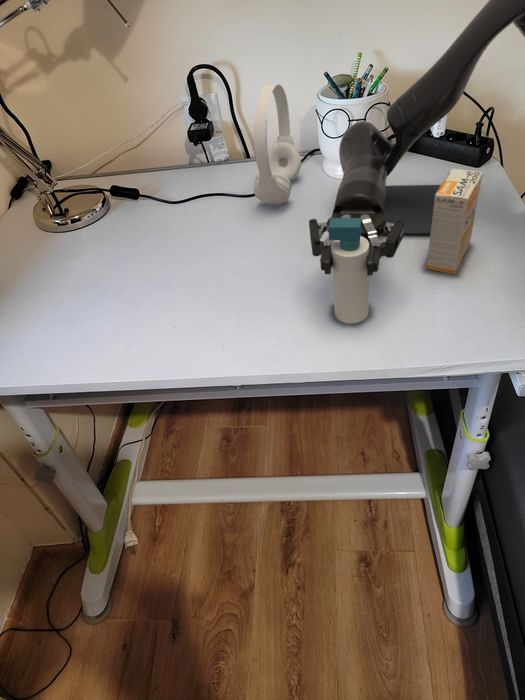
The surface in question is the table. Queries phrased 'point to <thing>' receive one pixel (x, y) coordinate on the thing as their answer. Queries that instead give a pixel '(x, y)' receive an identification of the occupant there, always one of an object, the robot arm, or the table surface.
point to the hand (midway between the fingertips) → (348, 269)
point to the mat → (411, 208)
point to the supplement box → (453, 219)
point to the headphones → (274, 150)
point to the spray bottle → (349, 269)
